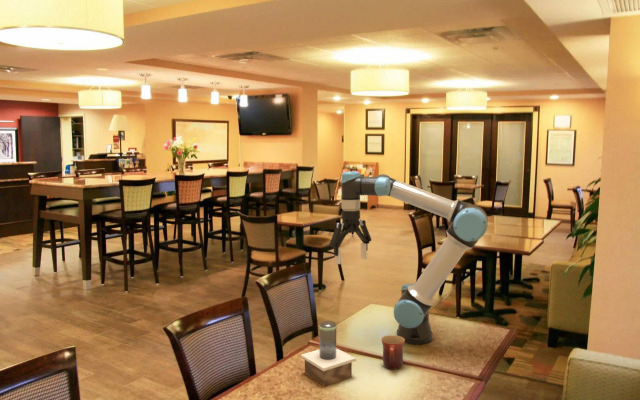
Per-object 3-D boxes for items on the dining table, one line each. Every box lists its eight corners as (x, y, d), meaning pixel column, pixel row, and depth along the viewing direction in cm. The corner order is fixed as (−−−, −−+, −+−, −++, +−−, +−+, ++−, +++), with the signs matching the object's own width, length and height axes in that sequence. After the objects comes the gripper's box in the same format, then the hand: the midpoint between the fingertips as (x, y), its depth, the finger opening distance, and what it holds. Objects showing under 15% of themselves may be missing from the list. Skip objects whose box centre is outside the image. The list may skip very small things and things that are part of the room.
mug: (381, 360, 197) (382, 334, 196) (405, 362, 195) (405, 335, 194) (379, 373, 185) (379, 346, 184) (403, 376, 184) (404, 348, 182)
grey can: (329, 351, 188) (329, 319, 187) (340, 357, 183) (340, 324, 182) (315, 355, 184) (315, 323, 183) (325, 361, 179) (325, 328, 178)
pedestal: (331, 363, 194) (331, 345, 193) (355, 377, 183) (355, 358, 182) (300, 373, 186) (300, 354, 185) (323, 388, 175) (323, 368, 174)
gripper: (368, 206, 219) (368, 255, 221) (320, 211, 204) (321, 263, 207) (379, 208, 213) (379, 258, 215) (331, 213, 198) (332, 267, 200)
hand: (351, 261), depth 211 cm, fingers open, 13 cm apart
